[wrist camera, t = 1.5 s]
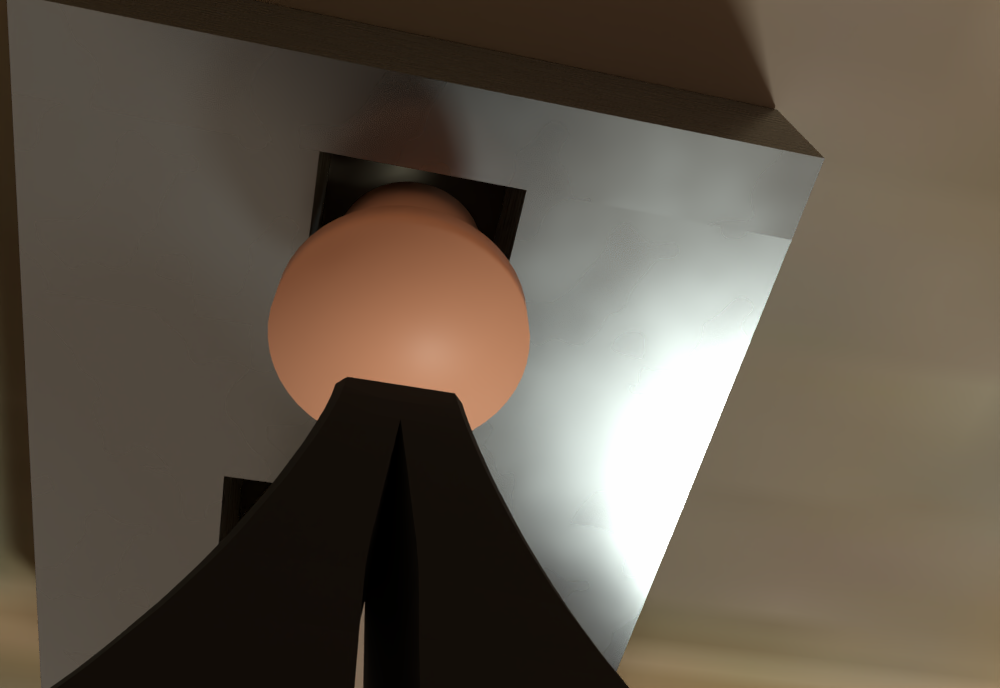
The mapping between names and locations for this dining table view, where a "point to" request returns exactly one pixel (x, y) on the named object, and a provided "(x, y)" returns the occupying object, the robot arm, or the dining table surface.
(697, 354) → the housing
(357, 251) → the plunger
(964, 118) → the dining table surface
